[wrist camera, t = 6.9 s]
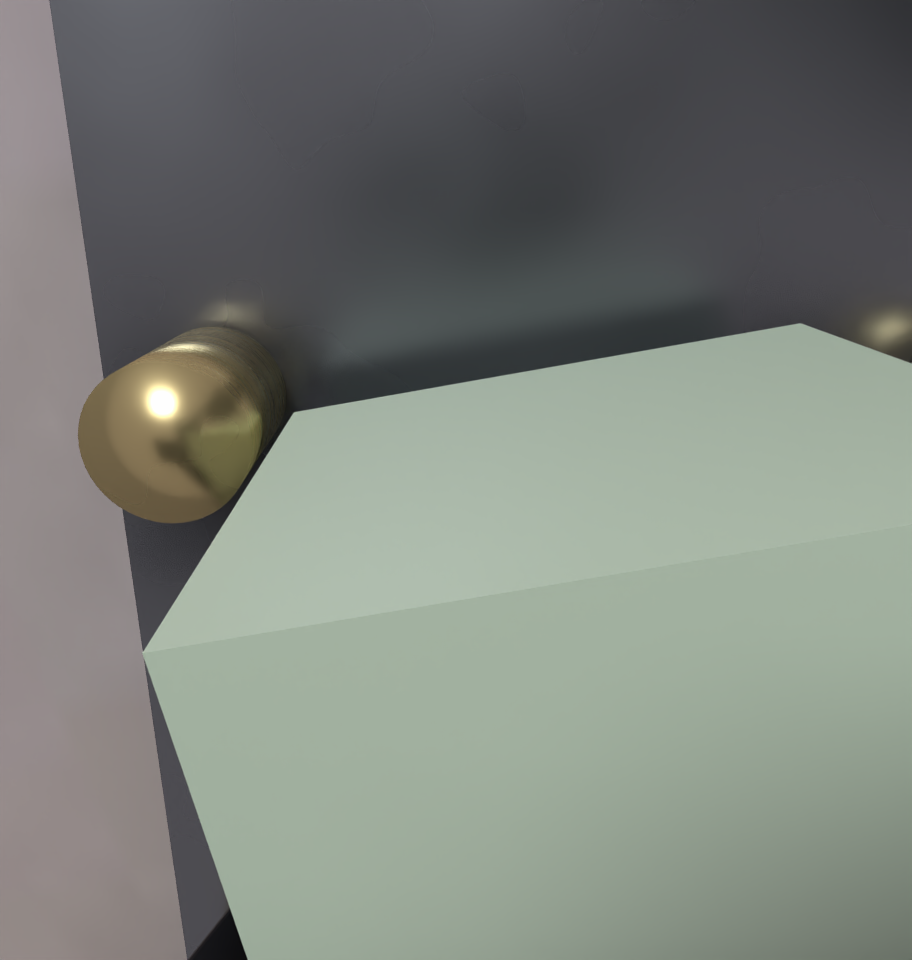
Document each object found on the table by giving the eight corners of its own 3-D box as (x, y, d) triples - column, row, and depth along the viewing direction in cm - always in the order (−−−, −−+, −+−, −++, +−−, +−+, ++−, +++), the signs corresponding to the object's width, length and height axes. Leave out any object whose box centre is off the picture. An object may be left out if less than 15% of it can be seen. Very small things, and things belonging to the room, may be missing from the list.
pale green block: (800, 323, 8) (1356, 524, 3) (823, 996, 11) (1128, 1627, 6) (293, 411, 8) (91, 730, 3) (451, 1052, 11) (465, 1708, 6)
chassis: (1082, 14, 9) (1395, -70, 6) (857, 1039, 15) (968, 1260, 12) (95, 10, 9) (-74, -80, 6) (228, 1056, 14) (174, 1287, 11)
